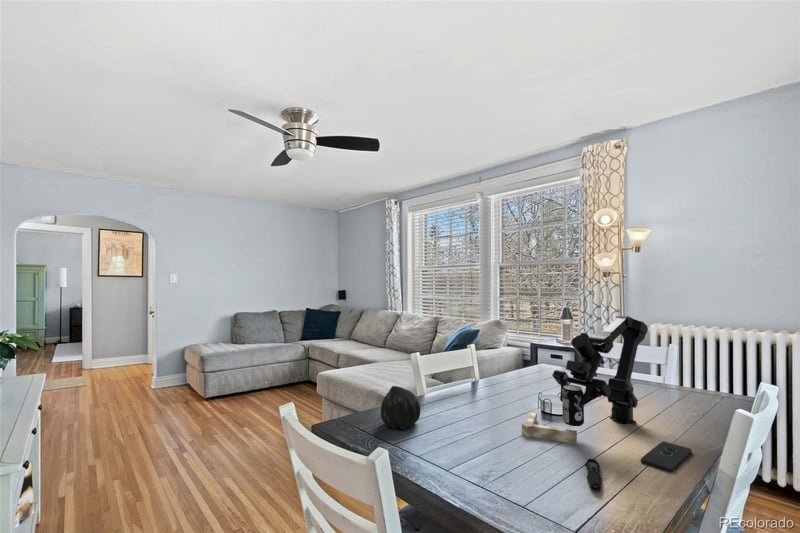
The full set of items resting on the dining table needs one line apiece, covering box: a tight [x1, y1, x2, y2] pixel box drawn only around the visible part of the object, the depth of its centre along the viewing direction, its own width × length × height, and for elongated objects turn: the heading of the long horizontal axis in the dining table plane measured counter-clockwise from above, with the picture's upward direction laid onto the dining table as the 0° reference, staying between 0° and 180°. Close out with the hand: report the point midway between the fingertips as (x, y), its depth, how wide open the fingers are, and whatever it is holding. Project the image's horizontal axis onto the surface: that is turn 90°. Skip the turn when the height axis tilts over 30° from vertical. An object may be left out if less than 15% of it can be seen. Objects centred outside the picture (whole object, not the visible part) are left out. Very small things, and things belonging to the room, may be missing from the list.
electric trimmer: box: [584, 458, 603, 491], centre depth 105 cm, size 4×16×3 cm, turn 157°
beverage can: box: [561, 384, 585, 427], centre depth 132 cm, size 7×7×12 cm
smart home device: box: [640, 440, 693, 474], centre depth 118 cm, size 8×2×20 cm
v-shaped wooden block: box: [521, 410, 578, 445], centre depth 137 cm, size 13×23×4 cm, turn 19°
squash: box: [380, 385, 421, 430], centre depth 144 cm, size 14×15×15 cm
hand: (570, 403), depth 131 cm, fingers closed on beverage can, 6 cm apart
